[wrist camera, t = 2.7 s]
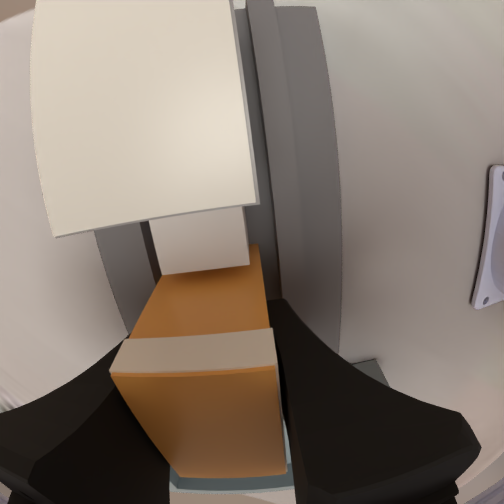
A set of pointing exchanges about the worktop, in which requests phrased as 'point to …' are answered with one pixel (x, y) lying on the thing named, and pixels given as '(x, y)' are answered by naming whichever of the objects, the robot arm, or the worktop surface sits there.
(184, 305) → the block
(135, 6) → the cream rectangular block
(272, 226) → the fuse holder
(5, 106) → the worktop surface
